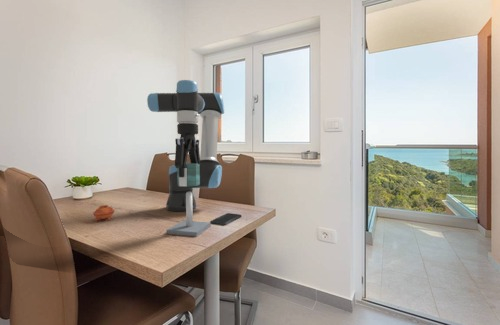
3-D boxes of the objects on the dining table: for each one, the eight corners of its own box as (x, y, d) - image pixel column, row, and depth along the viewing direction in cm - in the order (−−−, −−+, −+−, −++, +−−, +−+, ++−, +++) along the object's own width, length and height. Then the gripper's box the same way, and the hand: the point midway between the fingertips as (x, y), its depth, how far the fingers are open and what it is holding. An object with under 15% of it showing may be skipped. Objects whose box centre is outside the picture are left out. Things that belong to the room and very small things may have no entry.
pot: (120, 217, 111) (116, 203, 109) (105, 226, 104) (101, 211, 102) (106, 214, 114) (103, 201, 112) (91, 223, 107) (87, 209, 105)
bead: (184, 183, 98) (184, 163, 98) (202, 184, 96) (202, 163, 96) (174, 186, 91) (173, 164, 90) (193, 187, 89) (192, 164, 88)
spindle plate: (183, 223, 102) (182, 188, 101) (210, 226, 99) (210, 189, 98) (166, 233, 90) (165, 193, 89) (196, 236, 87) (196, 195, 86)
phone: (242, 214, 113) (225, 223, 99) (242, 217, 113) (225, 226, 99) (227, 212, 116) (208, 221, 103) (227, 215, 116) (208, 224, 103)
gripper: (182, 120, 81) (183, 189, 83) (208, 125, 101) (209, 181, 102) (162, 120, 83) (164, 188, 84) (191, 126, 103) (192, 180, 104)
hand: (188, 184), depth 93 cm, fingers closed on bead, 8 cm apart
